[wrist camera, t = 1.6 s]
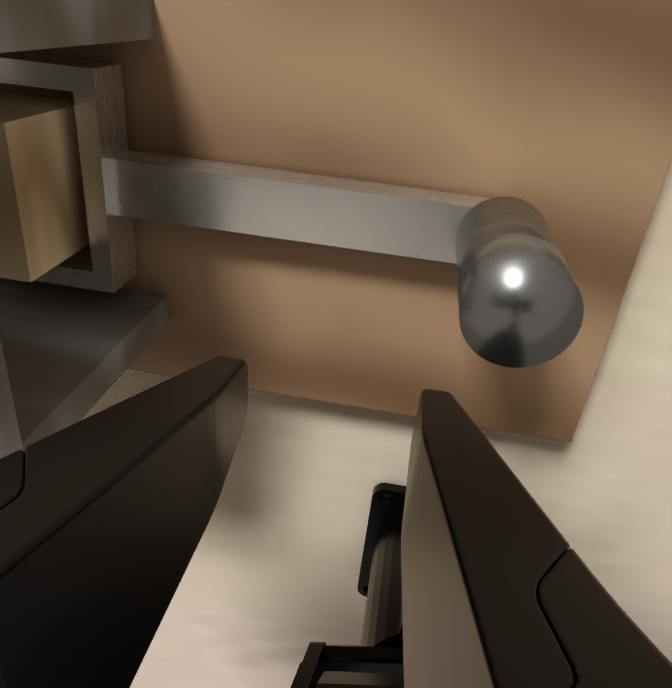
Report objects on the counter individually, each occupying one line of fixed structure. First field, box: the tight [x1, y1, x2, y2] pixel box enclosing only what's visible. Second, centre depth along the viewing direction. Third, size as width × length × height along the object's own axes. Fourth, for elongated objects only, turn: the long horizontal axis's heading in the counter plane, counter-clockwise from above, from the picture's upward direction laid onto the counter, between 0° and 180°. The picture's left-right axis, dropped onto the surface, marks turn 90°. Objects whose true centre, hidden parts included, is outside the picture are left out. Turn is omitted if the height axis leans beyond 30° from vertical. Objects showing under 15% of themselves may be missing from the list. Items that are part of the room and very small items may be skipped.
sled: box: [0, 52, 584, 368], centre depth 15 cm, size 6×18×6 cm, turn 84°
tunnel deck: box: [0, 0, 672, 459], centre depth 15 cm, size 14×32×11 cm, turn 84°
